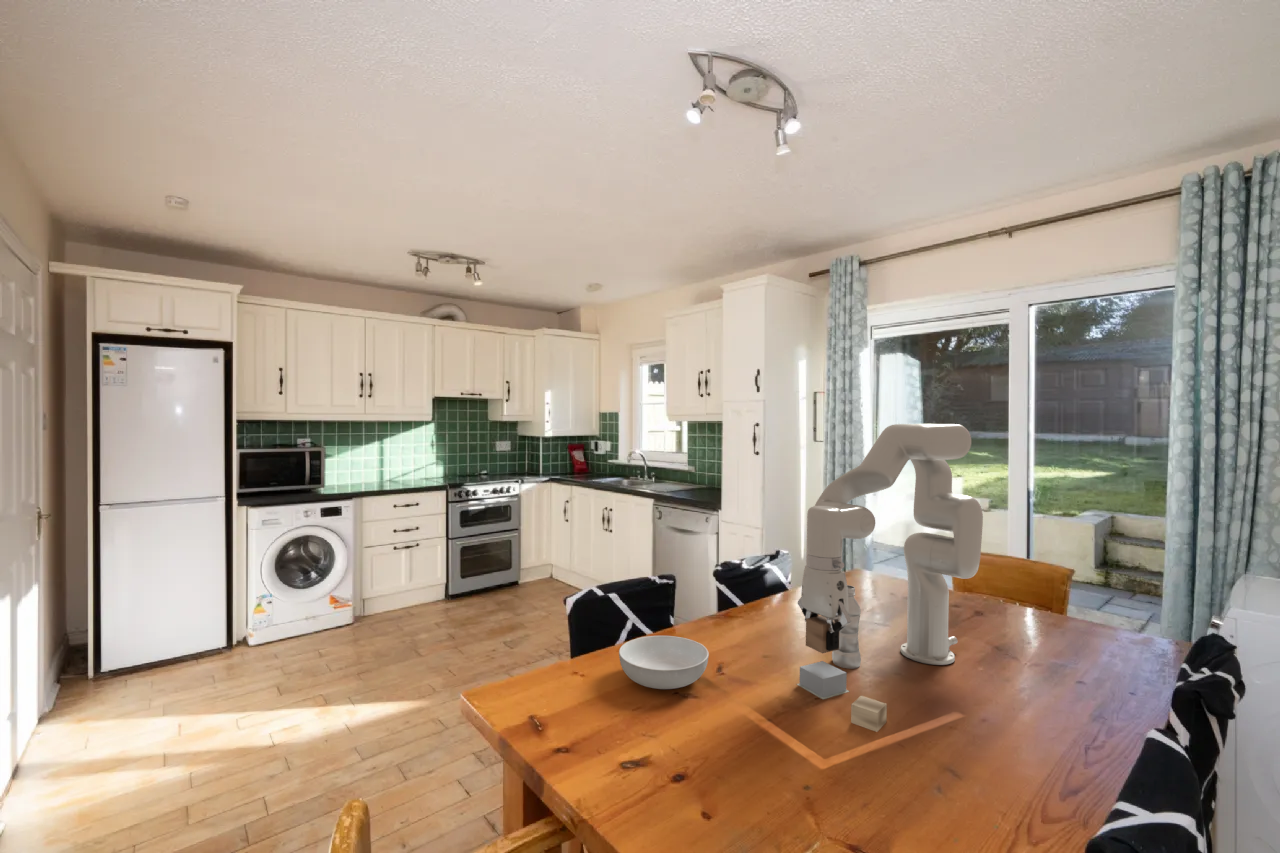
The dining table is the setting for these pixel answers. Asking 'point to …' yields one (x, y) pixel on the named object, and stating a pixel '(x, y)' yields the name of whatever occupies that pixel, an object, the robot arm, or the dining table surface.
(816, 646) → the walnut block
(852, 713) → the birch block
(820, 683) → the base block
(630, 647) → the serving bowl
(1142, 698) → the dining table surface
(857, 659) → the plastic bottle
